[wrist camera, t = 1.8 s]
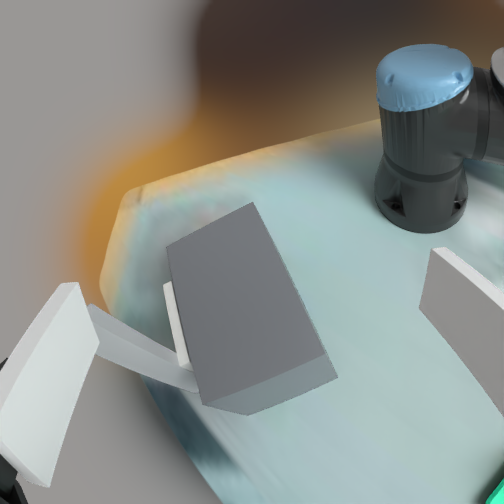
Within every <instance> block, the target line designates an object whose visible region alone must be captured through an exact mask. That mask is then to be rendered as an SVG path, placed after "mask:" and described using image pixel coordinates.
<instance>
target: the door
mask: <svg viewBox="0 0 504 504" xmlns="http://www.w3.org/2000/svg"><path fill="white" fill-rule="evenodd" d="M163 289H164V294H165V299H166V305H167V310H168V315H169V320H170V325H171V329H172V334H173V339H174V343H175V348H176V352H177V353H175V352H174V351H172V350H170V349H168V348H166V347H164V346H162V345H161V344H159V343H157V342H155V341H153V340H152V339H150V338H148V337H146V336H145V335H143V334H141V333H139V332H138V331H136V330H134V329H132V328H131V327H129V326H127V325H126V324H124V323H122V322H121V321H119V320H117V319H116V318H114V317H112V316H111V315H109V314H108V313H106V312H104V311H103V310H101V309H100V308H98V307H97V306H95V305H93V304H92V303H91V304H89V305H88V306H86V307H87V310H88V313H89V315H90V318H91V321H92V324H93V326H94V329H95V332H96V334H97V337H98V339H99V342H100V343H99V345H98V348H97V350H96V352H95V354H96V355H98V356H100V357H102V358H105V359H107V360H109V361H111V362H114V363H116V364H118V365H121V366H123V367H126V368H128V369H130V370H133V371H136V372H138V373H140V374H143V375H145V376H148V377H150V378H153V379H156V380H158V381H161V382H164V383H166V384H169V385H172V386H175V387H178V388H181V389H183V390H186V391H189V392H192V393H198V392H199V390H198V386H197V382H196V378H195V375H194V371H193V367H192V363H191V359H190V355H189V351H188V347H187V343H186V339H185V335H184V330H183V326H182V322H181V317H180V313H179V308H178V304H177V299H176V295H175V290H174V285H173V282H172V281H170V282H168V283H166V284H164V285H163Z"/></svg>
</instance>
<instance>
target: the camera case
mask: <svg viewBox="0 0 504 504" xmlns="http://www.w3.org/2000/svg"><path fill="white" fill-rule="evenodd" d="M166 249H167V254H168V260H169V265H170V270H171V275H172V280H173V285H174V290H175V295H176V299H177V304H178V308H179V313H180V317H181V322H182V326H183V330H184V335H185V339H186V343H187V347H188V351H189V355H190V359H191V363H192V367H193V371H194V375H195V378H196V382H197V386H198V390H199V393H200V397H201V400H202V404H203V405H206V406H210V407H214V408H218V409H222V410H226V411H230V412H234V413H239V414H243V415H251V414H254V413H256V412H259V411H262V410H264V409H267V408H269V407H272V406H274V405H277V404H279V403H282V402H284V401H287V400H289V399H292V398H294V397H296V396H299V395H301V394H303V393H306V392H308V391H310V390H312V389H315V388H317V387H319V386H321V385H323V384H325V383H328V382H330V381H332V380H334V379H336V378H338V376H337V374H336V372H335V370H334V367H333V365H332V363H331V361H330V359H329V357H328V354H327V352H326V350H325V348H324V346H323V344H322V342H321V339H320V337H319V335H318V333H317V331H316V329H315V327H314V324H313V322H312V320H311V318H310V316H309V314H308V312H307V310H306V308H305V305H304V303H303V301H302V299H301V297H300V295H299V293H298V291H297V289H296V287H295V284H294V282H293V280H292V278H291V276H290V274H289V272H288V270H287V268H286V266H285V264H284V262H283V260H282V258H281V256H280V254H279V252H278V250H277V248H276V246H275V244H274V242H273V240H272V238H271V236H270V234H269V232H268V230H267V228H266V226H265V224H264V222H263V220H262V219H261V217H260V215H259V213H258V211H257V209H256V207H255V205H254V203H253V202H251V203H249V204H247V205H245V206H243V207H241V208H239V209H237V210H235V211H234V212H232V213H230V214H228V215H226V216H224V217H222V218H220V219H218V220H216V221H214V222H212V223H210V224H208V225H206V226H205V227H203V228H201V229H199V230H197V231H195V232H193V233H191V234H189V235H188V236H186V237H184V238H182V239H180V240H178V241H176V242H175V243H173V244H171V245H169V246H167V247H166Z"/></svg>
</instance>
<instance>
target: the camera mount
mask: <svg viewBox="0 0 504 504" xmlns="http://www.w3.org/2000/svg"><path fill="white" fill-rule="evenodd" d="M485 504H504V479H503V480H502V481H501V482H500V484H499V485H498V486H497V488H496V489H495V490H494V491H493V493H492V494H491V495H490V496H489V497H488V499H487V500H486V503H485Z"/></svg>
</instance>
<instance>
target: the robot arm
mask: <svg viewBox="0 0 504 504" xmlns="http://www.w3.org/2000/svg"><path fill="white" fill-rule="evenodd" d="M376 79H377V94H376V98H377V101H378V104H379V109H380V118H381V127H382V137H383V149H384V154H383V157H382V160H381V162H380V165H379V168H378V171H377V173H376V176H375V184H374V185H375V198H376V202H377V204H378V207H379V208H380V210H381V212H382V213H383V214H384V215H385V216H386V217H387V218H388V219H389V220H390V221H391V222H393V223H394V224H396V225H397V226H399V227H401V228H403V229H406V230H409V231H412V232H417V233H436V232H440V231H443V230H446V229H448V228H450V227H451V226H453V225H454V224H456V223H457V222H458V221H459V219H460V218H461V217H462V215H463V213H464V210H465V207H466V203H467V199H468V187H467V181H466V176H465V171H464V167H463V160H464V158H468V159H474V160H479V161H484V162H488V163H493V164H497V165H502V166H504V47H502V48H500V49H498V50H496V51H495V52H494V53H493V55H492V59H491V67H490V70H489V69H483V68H478V67H473V66H472V64H471V62H470V60H469V58H468V57H467V56H466V55H465V54H464V53H462V52H461V51H459V50H456V49H449V47H447V46H443V45H435V44H419V45H412V46H407V47H403V48H400V49H398V50H396V51H393V52H391V53H390V54H388V55H387V56H385V57H384V58H383V59H382V60H381V62H380V63H379V65H378V68H377V71H376ZM419 309H420V310H421V311H422V313H423V314H424V315H425V316H426V317H427V319H428V320H429V321H430V322H431V323H432V324H433V326H434V327H435V328H436V329H437V330H438V332H439V333H440V334H441V335H442V336H443V338H444V339H445V340H446V341H447V343H448V344H449V345H450V346H451V347H452V349H453V350H454V351H455V352H456V354H457V355H458V356H459V357H460V359H461V360H462V361H463V363H464V364H465V365H466V366H467V368H468V369H469V370H470V372H471V373H472V374H473V376H474V377H475V378H476V379H477V381H478V382H479V383H480V385H481V386H482V387H483V389H484V390H485V392H486V393H487V394H488V396H489V397H490V398H491V400H492V401H493V403H494V404H495V405H496V407H497V408H498V410H499V411H500V412H501V414H502V415H503V417H504V293H503V292H502V291H501V290H500V289H498V288H497V287H496V286H495V285H494V284H492V283H491V282H490V281H489V280H487V279H486V278H485V277H484V276H482V275H481V274H480V273H479V272H477V271H476V270H475V269H474V268H472V267H471V266H470V265H469V264H467V263H466V262H465V261H463V260H462V259H461V258H459V257H458V256H457V255H456V254H454V253H453V252H452V251H450V250H449V249H447V248H446V247H442V248H433V249H431V252H430V258H429V263H428V268H427V273H426V278H425V283H424V288H423V292H422V297H421V301H420V305H419ZM99 343H100V342H99V339H98V337H97V334H96V332H95V329H94V326H93V324H92V321H91V318H90V315H89V313H88V310H87V307H86V304H85V301H84V299H83V295H82V292H81V290H80V286H79V283H78V282H71V283H61V284H60V285H59V287H58V288H57V289H56V291H55V292H54V293H53V295H52V296H51V297H50V299H49V300H48V301H47V303H46V304H45V305H44V307H43V308H42V309H41V311H40V312H39V314H38V315H37V316H36V318H35V319H34V321H33V322H32V324H31V325H30V327H29V328H28V329H27V331H26V332H25V334H24V335H23V337H22V338H21V340H20V341H19V343H18V344H17V346H16V347H15V349H14V350H13V352H12V353H11V355H10V357H9V358H6V359H5V360H4V361H3V362H2V363H1V364H0V504H28V502H27V500H26V498H25V495H24V493H23V490H22V488H21V486H20V484H19V483H18V481H17V480H16V475H17V472H18V473H19V474H20V475H22V476H23V477H24V478H25V479H26V480H27V481H28V482H30V483H33V484H37V485H40V486H44V487H48V488H49V487H50V484H51V480H52V476H53V473H54V469H55V465H56V462H57V459H58V456H59V452H60V449H61V445H62V443H63V440H64V436H65V433H66V430H67V427H68V424H69V421H70V418H71V416H72V413H73V410H74V407H75V404H76V402H77V399H78V396H79V393H80V390H81V388H82V385H83V383H84V380H85V377H86V375H87V372H88V370H89V367H90V365H91V362H92V360H93V357H94V355H95V352H96V350H97V348H98V345H99Z"/></svg>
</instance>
